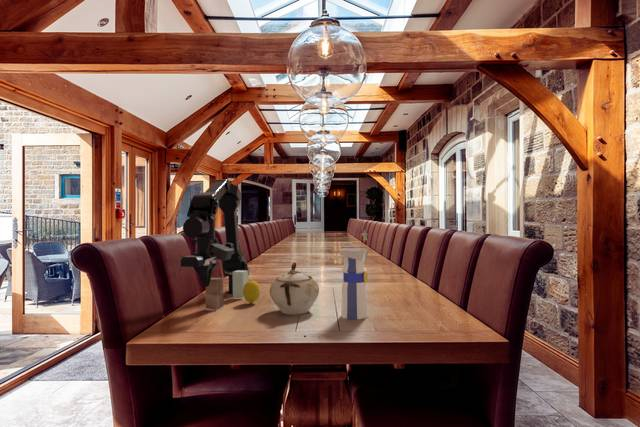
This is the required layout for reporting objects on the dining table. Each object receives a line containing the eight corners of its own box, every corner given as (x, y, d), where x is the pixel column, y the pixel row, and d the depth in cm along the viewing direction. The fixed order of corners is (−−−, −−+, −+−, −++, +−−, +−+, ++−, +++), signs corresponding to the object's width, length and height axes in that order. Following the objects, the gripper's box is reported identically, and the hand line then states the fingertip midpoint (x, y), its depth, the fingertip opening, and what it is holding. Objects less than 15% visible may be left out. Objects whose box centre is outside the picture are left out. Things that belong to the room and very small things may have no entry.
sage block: (238, 296, 158) (237, 270, 158) (248, 297, 157) (247, 270, 156) (232, 298, 154) (232, 271, 154) (243, 299, 153) (242, 272, 153)
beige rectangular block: (212, 307, 141) (212, 277, 141) (223, 307, 140) (223, 278, 140) (205, 309, 137) (205, 279, 137) (217, 310, 136) (216, 280, 136)
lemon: (261, 302, 148) (261, 278, 148) (257, 305, 142) (257, 281, 142) (245, 301, 148) (245, 278, 148) (241, 305, 143) (240, 280, 143)
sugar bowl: (313, 320, 122) (312, 266, 122) (261, 319, 125) (260, 266, 125) (323, 305, 142) (323, 258, 142) (279, 304, 144) (278, 258, 144)
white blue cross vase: (371, 313, 130) (370, 228, 129) (366, 320, 121) (365, 230, 121) (344, 311, 132) (343, 228, 132) (337, 318, 124) (336, 230, 123)
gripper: (212, 238, 123) (213, 293, 123) (243, 233, 140) (244, 282, 141) (178, 237, 126) (179, 292, 126) (212, 233, 144) (213, 281, 144)
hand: (206, 286), depth 134 cm, fingers closed
